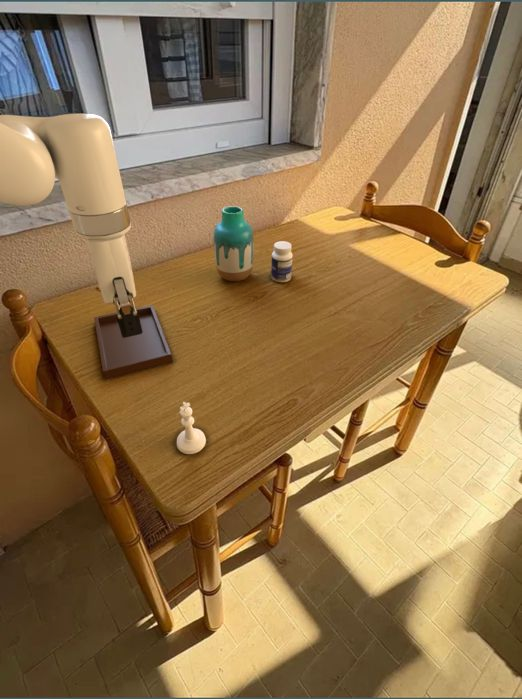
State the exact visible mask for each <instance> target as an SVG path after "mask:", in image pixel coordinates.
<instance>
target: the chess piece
mask: <svg viewBox="0 0 522 699" xmlns="http://www.w3.org/2000/svg"><path fill="white" fill-rule="evenodd" d="M190 406H191V403H190V402H189V401H188V402H186V401H183V402H182V405H181V406H180V407H179V415H180V417H181V420H180V424H181V425H182V426H183V427H184V430H182V431H181V432H180V433H179V434H178V436H177V438H176V447H177V449H178V451H179V452H180V453H182V454H186V455H194V454H197V453H199V452H200V451H202V450H203V448H204V447H205V446H206V442H207V438H206V435H205V433H204V432H203V431H202V430H201V429H199V428H196V427H193V425H194V423H195V418H194V416H192V415H193V409H192V408H191V407H190Z"/></svg>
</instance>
